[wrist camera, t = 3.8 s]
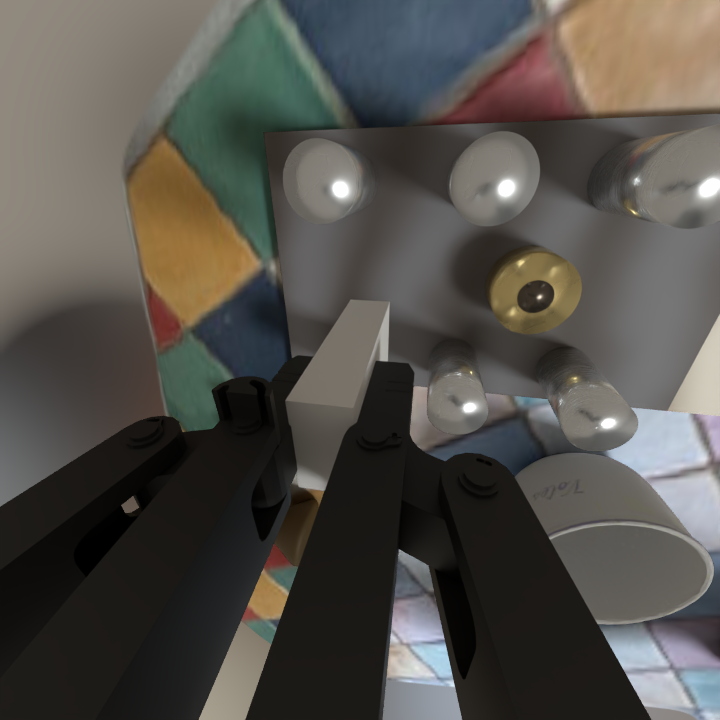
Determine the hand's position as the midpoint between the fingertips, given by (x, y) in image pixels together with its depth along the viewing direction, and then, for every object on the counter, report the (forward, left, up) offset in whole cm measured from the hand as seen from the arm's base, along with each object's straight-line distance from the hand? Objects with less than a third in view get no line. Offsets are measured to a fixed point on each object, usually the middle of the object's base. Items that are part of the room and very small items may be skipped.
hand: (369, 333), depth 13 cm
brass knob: (-8, 0, -9) cm, 12 cm away
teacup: (-14, +18, -10) cm, 25 cm away
